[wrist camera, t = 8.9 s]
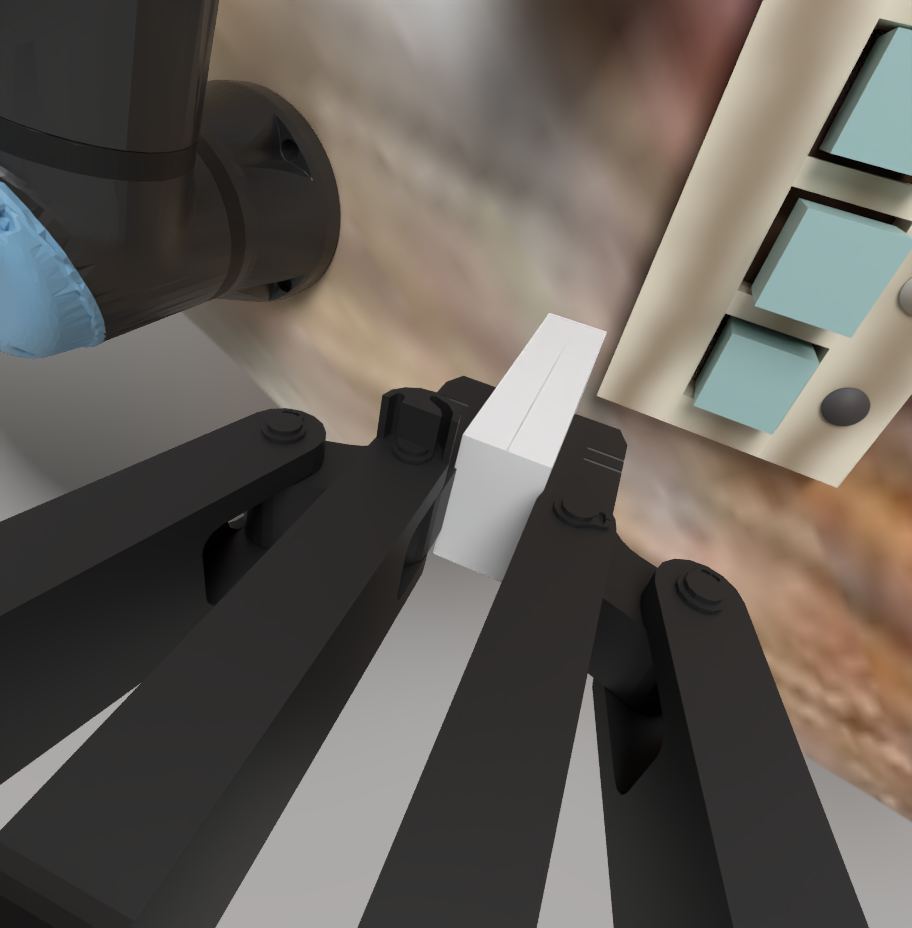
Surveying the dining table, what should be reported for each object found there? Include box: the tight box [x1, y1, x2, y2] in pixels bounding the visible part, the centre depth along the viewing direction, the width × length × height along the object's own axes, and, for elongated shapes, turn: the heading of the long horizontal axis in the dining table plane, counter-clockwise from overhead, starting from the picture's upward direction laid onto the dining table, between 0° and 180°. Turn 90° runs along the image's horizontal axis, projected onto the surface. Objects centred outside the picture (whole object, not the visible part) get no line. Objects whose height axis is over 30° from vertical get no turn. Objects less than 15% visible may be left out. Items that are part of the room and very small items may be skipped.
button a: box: [693, 315, 820, 435], centre depth 35 cm, size 5×5×4 cm
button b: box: [751, 198, 912, 338], centre depth 29 cm, size 5×5×4 cm
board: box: [597, 0, 912, 487], centre depth 32 cm, size 16×24×3 cm, turn 166°
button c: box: [819, 27, 912, 176], centre depth 26 cm, size 5×5×4 cm
